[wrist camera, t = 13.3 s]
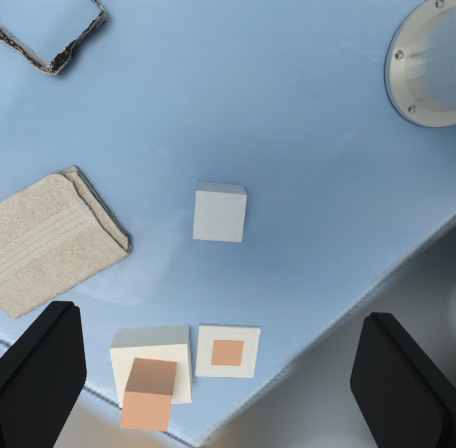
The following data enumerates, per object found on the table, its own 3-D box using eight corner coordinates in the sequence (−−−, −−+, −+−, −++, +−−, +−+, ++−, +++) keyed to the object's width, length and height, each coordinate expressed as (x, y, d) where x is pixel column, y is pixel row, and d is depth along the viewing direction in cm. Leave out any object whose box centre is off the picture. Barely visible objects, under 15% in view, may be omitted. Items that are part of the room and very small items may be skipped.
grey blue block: (241, 185, 36) (247, 194, 31) (237, 226, 37) (241, 242, 33) (197, 181, 35) (196, 190, 31) (194, 223, 37) (192, 238, 32)
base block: (188, 323, 41) (186, 343, 38) (192, 378, 44) (191, 402, 40) (118, 327, 41) (109, 348, 37) (127, 382, 44) (119, 407, 40)
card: (260, 326, 42) (260, 329, 41) (252, 375, 44) (253, 378, 44) (199, 323, 41) (199, 326, 41) (195, 373, 44) (194, 376, 43)
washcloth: (141, 243, 38) (135, 254, 35) (22, 315, 40) (7, 331, 37) (75, 156, 34) (62, 160, 31) (-52, 240, 36) (-75, 250, 33)
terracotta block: (176, 361, 38) (172, 395, 34) (171, 394, 40) (166, 431, 35) (134, 357, 38) (124, 391, 33) (131, 390, 39) (120, 427, 34)
